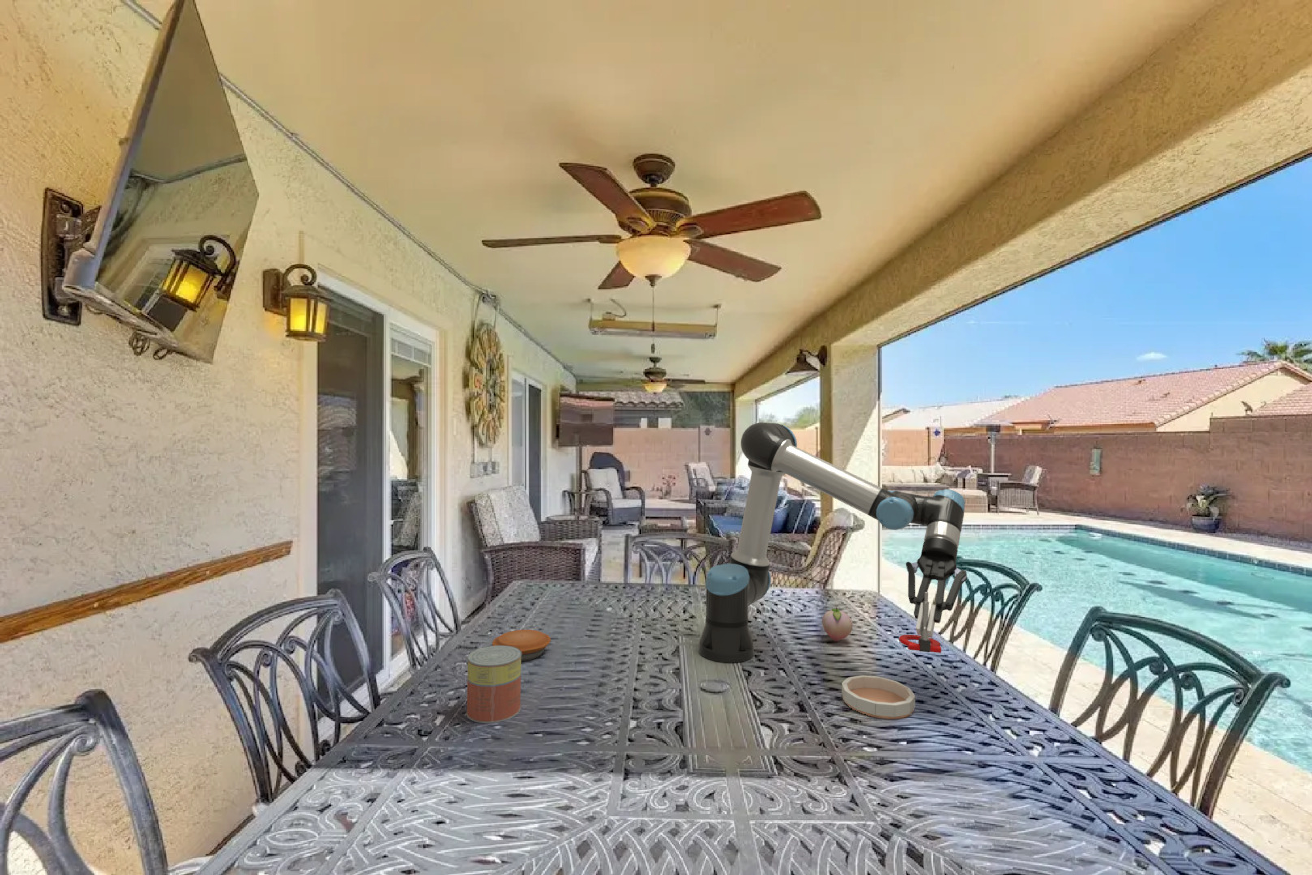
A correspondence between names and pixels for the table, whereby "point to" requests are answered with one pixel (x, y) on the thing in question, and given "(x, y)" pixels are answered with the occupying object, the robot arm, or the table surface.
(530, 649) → the pie
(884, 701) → the round tray
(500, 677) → the canned food
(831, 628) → the decorative fruit
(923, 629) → the tow hook
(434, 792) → the table surface
